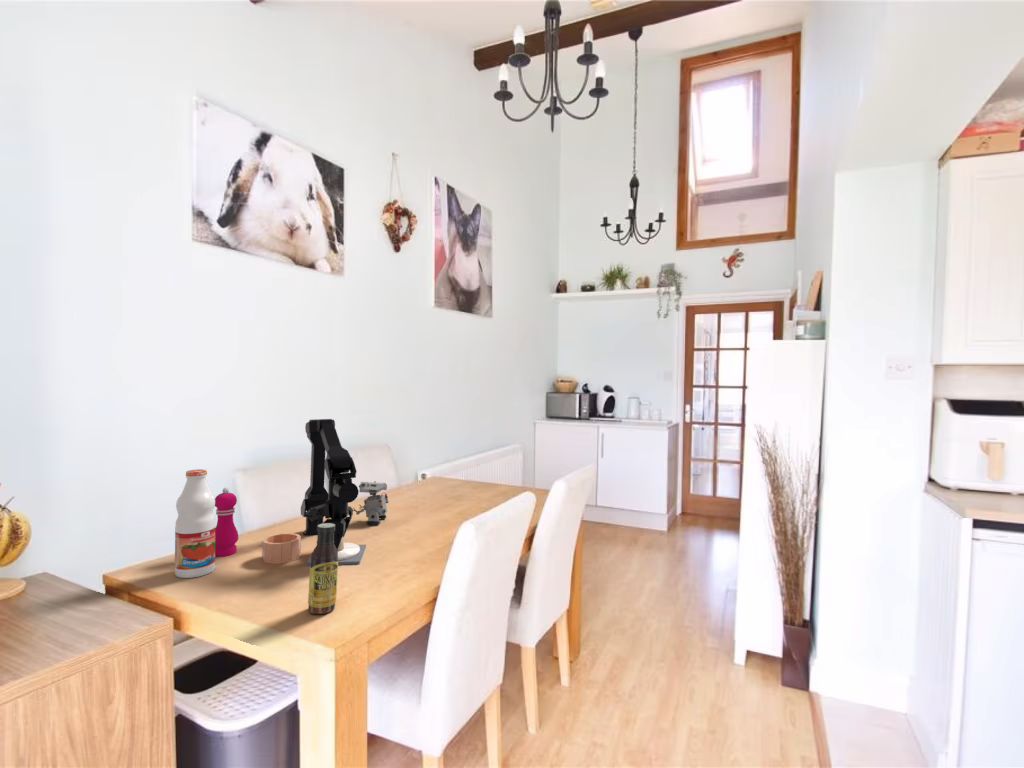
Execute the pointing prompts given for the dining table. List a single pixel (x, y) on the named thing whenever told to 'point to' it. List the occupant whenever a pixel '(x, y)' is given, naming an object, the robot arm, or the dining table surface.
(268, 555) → the bowl
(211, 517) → the fruit juice
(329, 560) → the sauce bottle
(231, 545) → the pepper mill
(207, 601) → the dining table surface
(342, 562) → the mat
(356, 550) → the lid
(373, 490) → the figurine
